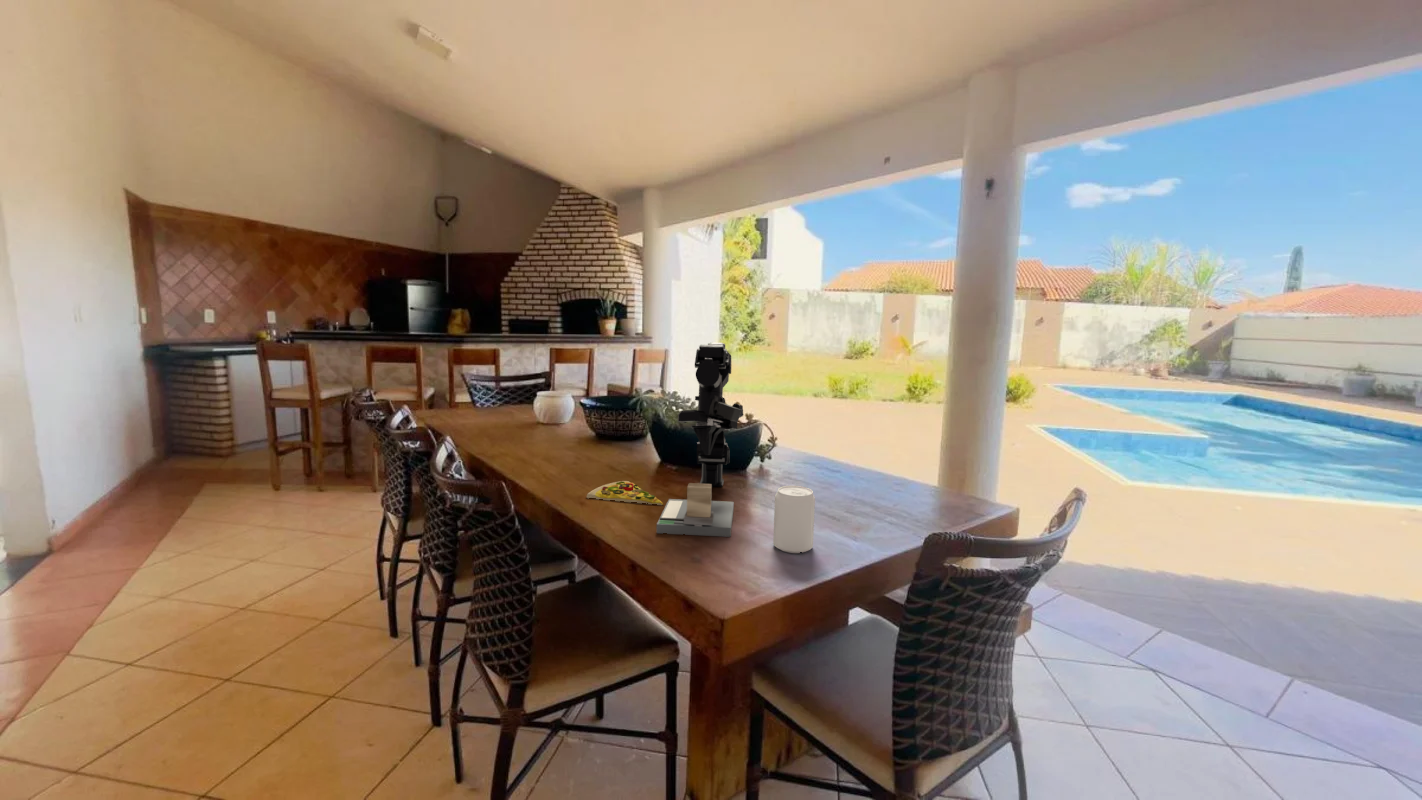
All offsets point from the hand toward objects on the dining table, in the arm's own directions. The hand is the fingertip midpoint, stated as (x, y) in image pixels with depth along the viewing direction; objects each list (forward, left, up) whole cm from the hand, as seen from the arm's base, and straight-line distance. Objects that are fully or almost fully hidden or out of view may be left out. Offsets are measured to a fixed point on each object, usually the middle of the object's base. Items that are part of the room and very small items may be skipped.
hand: (707, 454), depth 143 cm
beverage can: (+26, +20, -13) cm, 35 cm away
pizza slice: (-3, -20, -14) cm, 24 cm away
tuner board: (+13, -1, -13) cm, 18 cm away
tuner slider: (+20, -3, -10) cm, 22 cm away
